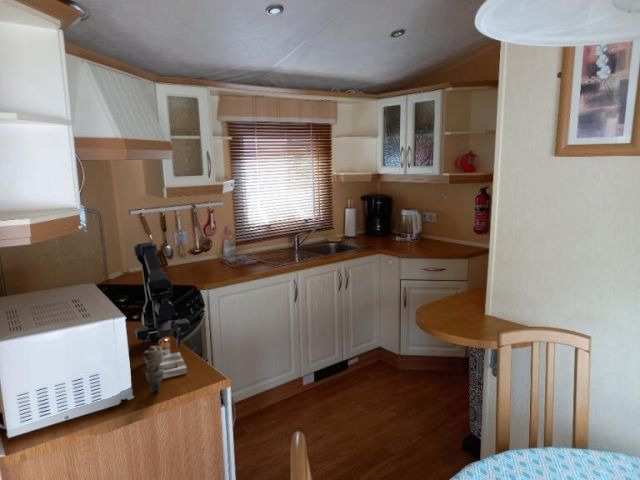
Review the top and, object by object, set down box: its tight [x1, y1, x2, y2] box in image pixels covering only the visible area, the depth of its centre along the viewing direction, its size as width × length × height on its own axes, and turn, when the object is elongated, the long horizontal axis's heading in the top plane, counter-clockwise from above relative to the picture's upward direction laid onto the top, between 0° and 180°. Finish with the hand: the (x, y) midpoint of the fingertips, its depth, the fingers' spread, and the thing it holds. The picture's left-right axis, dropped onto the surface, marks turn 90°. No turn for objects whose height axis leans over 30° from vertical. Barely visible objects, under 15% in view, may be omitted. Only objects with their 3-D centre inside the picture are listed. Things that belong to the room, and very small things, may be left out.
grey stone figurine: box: [142, 345, 163, 392], centre depth 142 cm, size 6×6×15 cm
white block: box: [160, 351, 188, 380], centre depth 159 cm, size 14×10×2 cm
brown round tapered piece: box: [158, 337, 171, 355], centre depth 168 cm, size 4×4×6 cm
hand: (165, 350), depth 168 cm, fingers open, 9 cm apart
